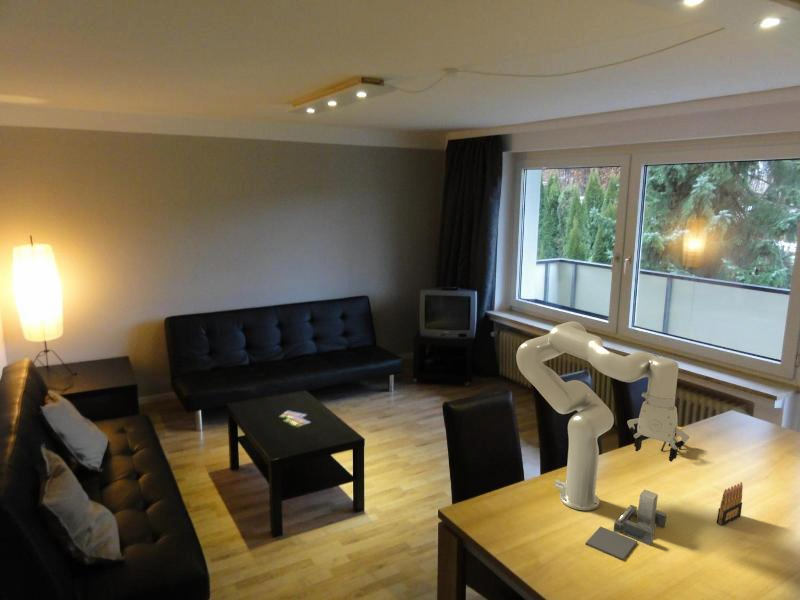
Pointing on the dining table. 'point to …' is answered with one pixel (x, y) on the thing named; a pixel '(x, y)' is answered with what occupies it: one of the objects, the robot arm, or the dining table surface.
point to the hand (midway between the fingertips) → (654, 454)
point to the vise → (635, 529)
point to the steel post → (647, 509)
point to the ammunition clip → (730, 505)
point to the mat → (611, 543)
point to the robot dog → (676, 439)
